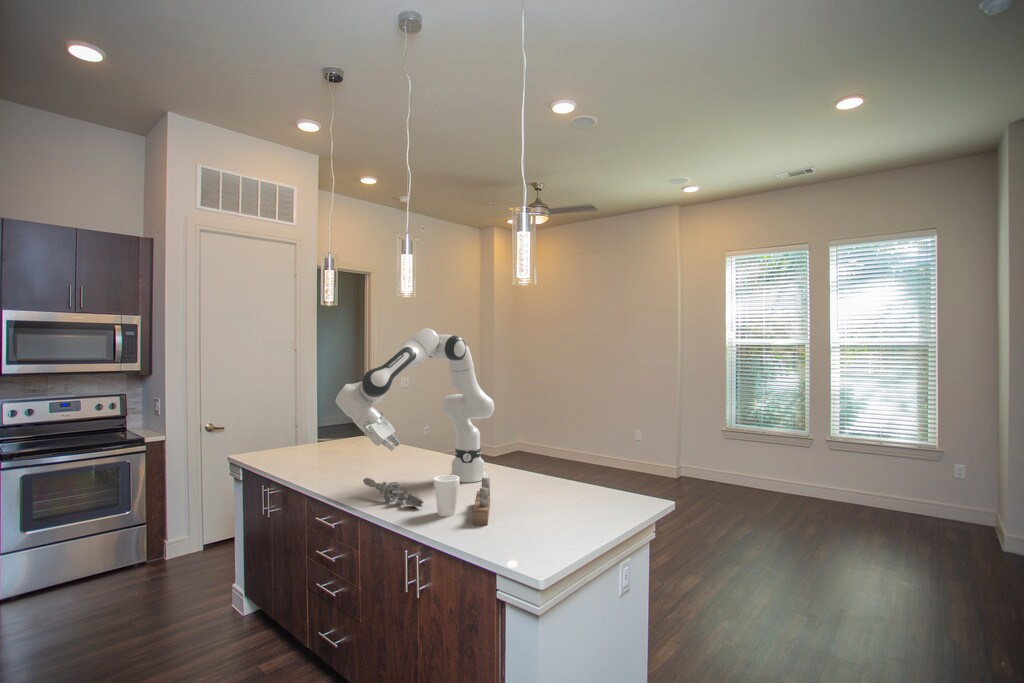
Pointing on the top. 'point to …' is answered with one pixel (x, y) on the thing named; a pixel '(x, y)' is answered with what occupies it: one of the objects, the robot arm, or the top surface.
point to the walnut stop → (482, 504)
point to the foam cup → (446, 494)
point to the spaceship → (395, 493)
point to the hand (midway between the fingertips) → (396, 447)
